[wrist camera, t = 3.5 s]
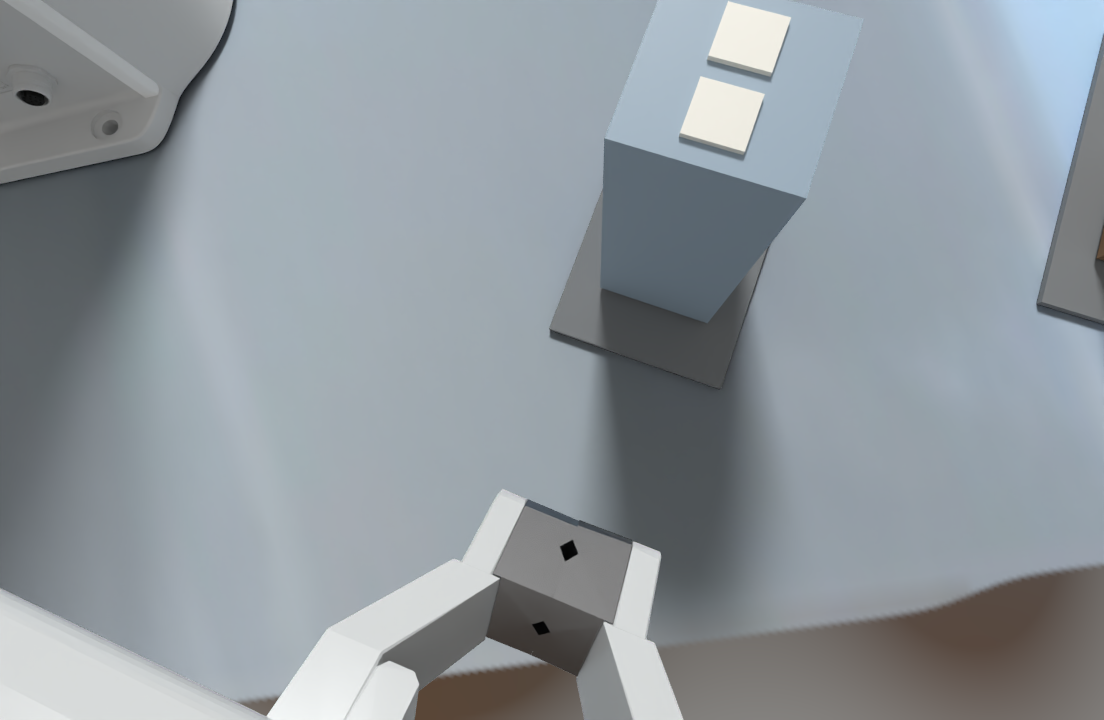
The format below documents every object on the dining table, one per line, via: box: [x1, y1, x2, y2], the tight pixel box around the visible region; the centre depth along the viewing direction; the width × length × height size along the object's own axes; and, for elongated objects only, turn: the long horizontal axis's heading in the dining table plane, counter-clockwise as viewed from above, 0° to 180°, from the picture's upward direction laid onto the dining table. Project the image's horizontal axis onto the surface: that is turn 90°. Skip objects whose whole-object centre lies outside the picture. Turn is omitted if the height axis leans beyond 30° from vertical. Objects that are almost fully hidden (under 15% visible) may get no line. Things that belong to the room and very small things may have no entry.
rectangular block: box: [600, 0, 864, 323], centre depth 20 cm, size 5×5×12 cm
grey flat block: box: [549, 189, 768, 389], centre depth 26 cm, size 14×8×1 cm, turn 159°
